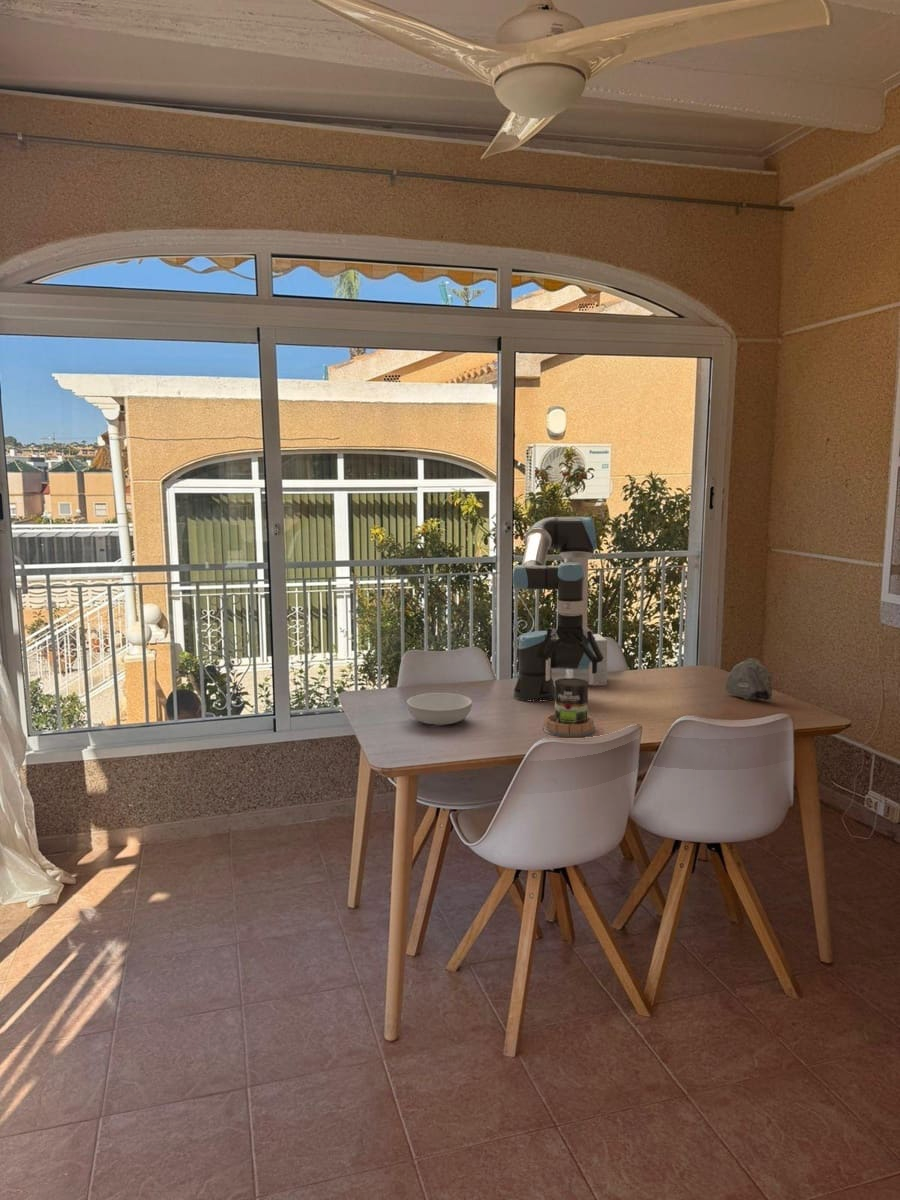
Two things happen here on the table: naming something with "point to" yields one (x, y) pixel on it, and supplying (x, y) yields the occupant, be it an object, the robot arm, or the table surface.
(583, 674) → the supplement box
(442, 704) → the serving bowl
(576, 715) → the coffee can
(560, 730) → the collar
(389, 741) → the table surface
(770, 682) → the decorative rock
